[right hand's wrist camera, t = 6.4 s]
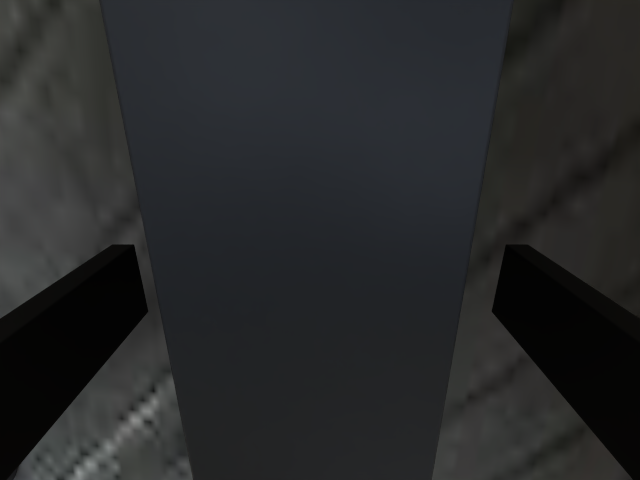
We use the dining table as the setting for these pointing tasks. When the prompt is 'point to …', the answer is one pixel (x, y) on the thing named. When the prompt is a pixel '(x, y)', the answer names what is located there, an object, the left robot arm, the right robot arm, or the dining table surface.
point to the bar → (309, 218)
